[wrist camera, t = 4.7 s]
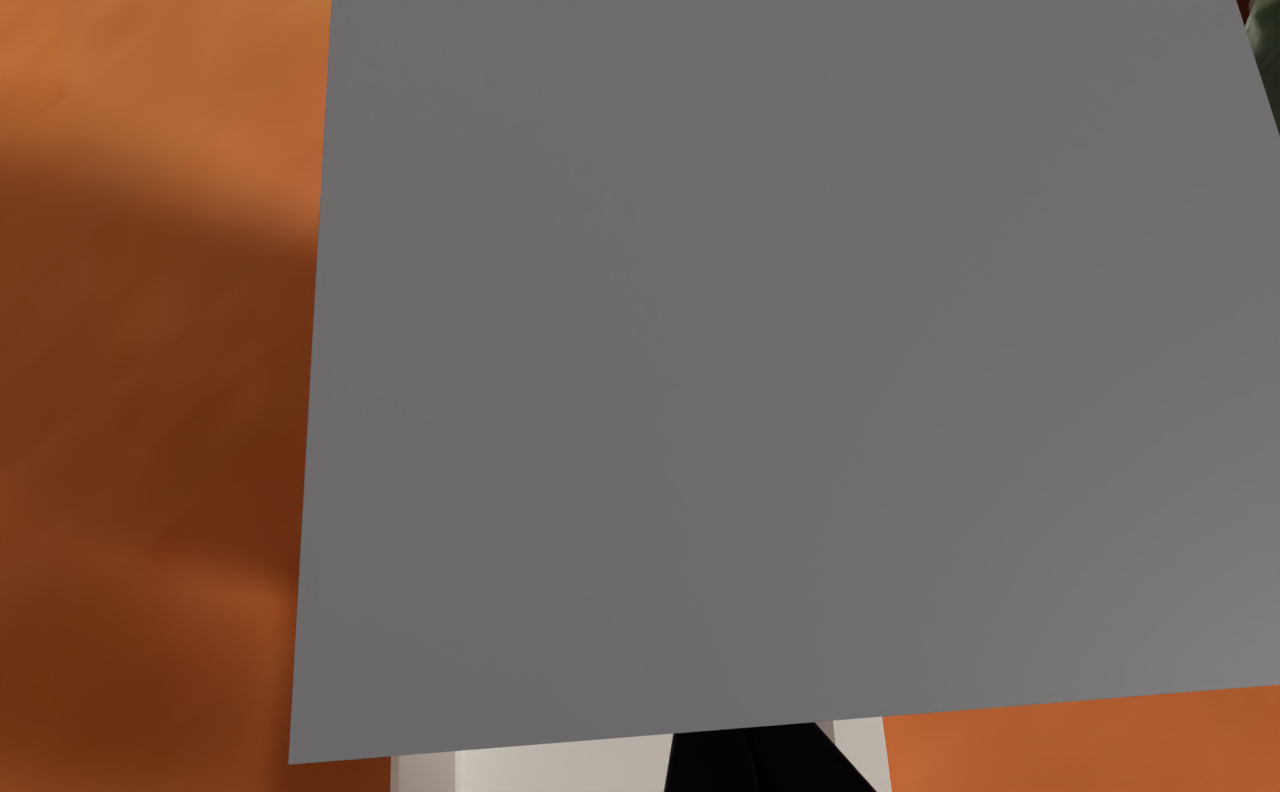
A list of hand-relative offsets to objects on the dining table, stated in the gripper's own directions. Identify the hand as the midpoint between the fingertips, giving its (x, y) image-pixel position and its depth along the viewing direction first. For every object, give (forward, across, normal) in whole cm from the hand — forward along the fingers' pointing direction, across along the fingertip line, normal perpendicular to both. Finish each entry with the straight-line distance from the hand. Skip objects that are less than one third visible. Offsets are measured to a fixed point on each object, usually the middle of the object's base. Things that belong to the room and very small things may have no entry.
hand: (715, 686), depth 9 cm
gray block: (+8, 0, +4) cm, 9 cm away
